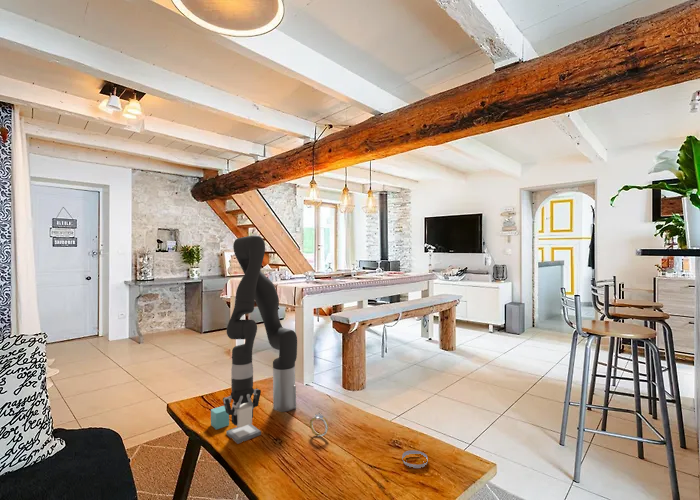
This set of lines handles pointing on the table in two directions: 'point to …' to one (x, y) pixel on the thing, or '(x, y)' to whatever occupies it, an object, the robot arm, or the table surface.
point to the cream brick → (244, 415)
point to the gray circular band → (414, 453)
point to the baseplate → (243, 433)
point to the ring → (320, 416)
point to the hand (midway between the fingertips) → (242, 421)
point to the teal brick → (219, 417)
